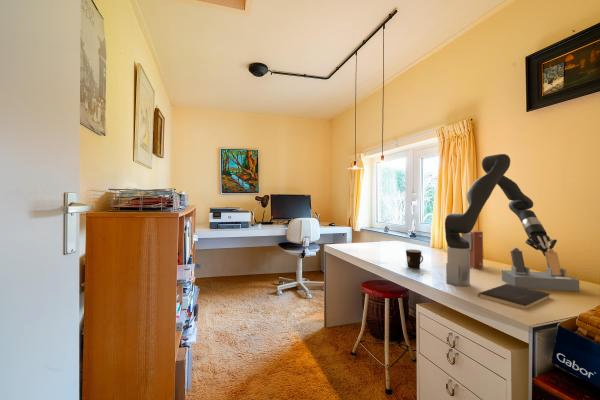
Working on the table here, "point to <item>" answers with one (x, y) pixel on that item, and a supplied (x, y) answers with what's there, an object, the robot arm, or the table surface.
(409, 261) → the coffee mug
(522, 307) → the hardcover book
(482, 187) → the robot arm
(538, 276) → the lever console
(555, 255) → the copper lever
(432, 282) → the table surface
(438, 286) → the table surface
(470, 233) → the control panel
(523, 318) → the table surface
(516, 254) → the black lever
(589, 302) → the table surface
